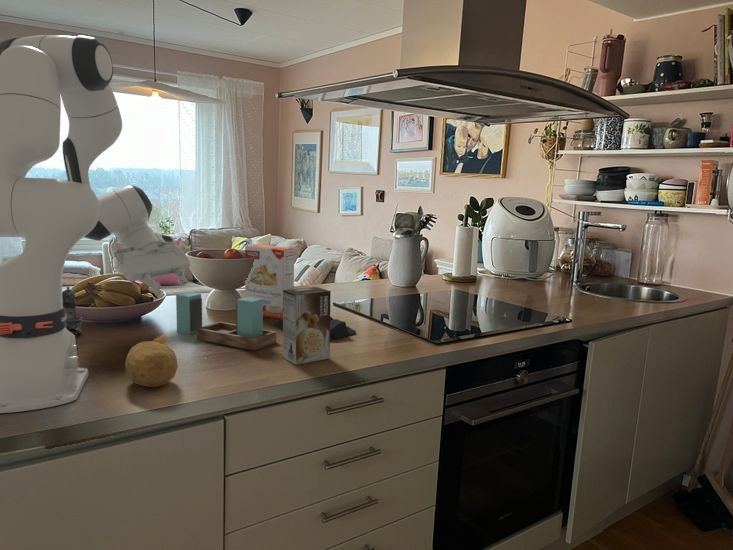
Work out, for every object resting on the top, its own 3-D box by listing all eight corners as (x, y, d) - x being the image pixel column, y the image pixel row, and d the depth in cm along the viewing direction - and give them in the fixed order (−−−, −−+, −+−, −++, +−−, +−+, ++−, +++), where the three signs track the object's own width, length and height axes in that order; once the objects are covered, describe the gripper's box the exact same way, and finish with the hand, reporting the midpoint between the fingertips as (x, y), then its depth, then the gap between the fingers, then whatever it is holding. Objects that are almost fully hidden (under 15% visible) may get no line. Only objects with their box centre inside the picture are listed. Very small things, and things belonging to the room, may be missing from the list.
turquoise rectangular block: (262, 337, 138) (262, 298, 137) (251, 341, 134) (251, 301, 133) (246, 334, 140) (246, 296, 139) (235, 338, 136) (235, 299, 135)
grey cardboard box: (316, 351, 133) (317, 286, 130) (330, 359, 128) (332, 290, 125) (281, 357, 127) (282, 289, 125) (295, 365, 122) (296, 294, 120)
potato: (166, 369, 117) (166, 332, 115) (187, 391, 105) (187, 350, 104) (117, 377, 111) (115, 338, 110) (133, 401, 100) (132, 358, 99)
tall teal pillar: (203, 331, 147) (202, 294, 145) (191, 334, 143) (190, 297, 141) (189, 328, 149) (188, 291, 147) (176, 332, 145) (176, 294, 143)
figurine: (52, 333, 139) (49, 286, 137) (73, 328, 145) (71, 283, 143) (66, 337, 137) (64, 289, 135) (88, 331, 142) (86, 285, 140)
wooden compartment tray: (276, 342, 139) (276, 331, 139) (255, 350, 132) (255, 339, 131) (219, 331, 147) (219, 321, 146) (197, 338, 139) (196, 328, 139)
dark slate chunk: (313, 319, 165) (314, 303, 164) (360, 336, 149) (361, 319, 148) (269, 326, 155) (269, 310, 155) (313, 346, 139) (313, 327, 138)
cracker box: (243, 314, 167) (243, 245, 163) (256, 310, 172) (256, 243, 169) (282, 320, 161) (283, 249, 157) (294, 316, 166) (295, 247, 163)
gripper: (117, 242, 138) (147, 285, 136) (177, 236, 157) (204, 274, 154) (105, 258, 141) (134, 300, 139) (166, 250, 159) (192, 288, 157)
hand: (171, 286), depth 147 cm, fingers open, 8 cm apart
